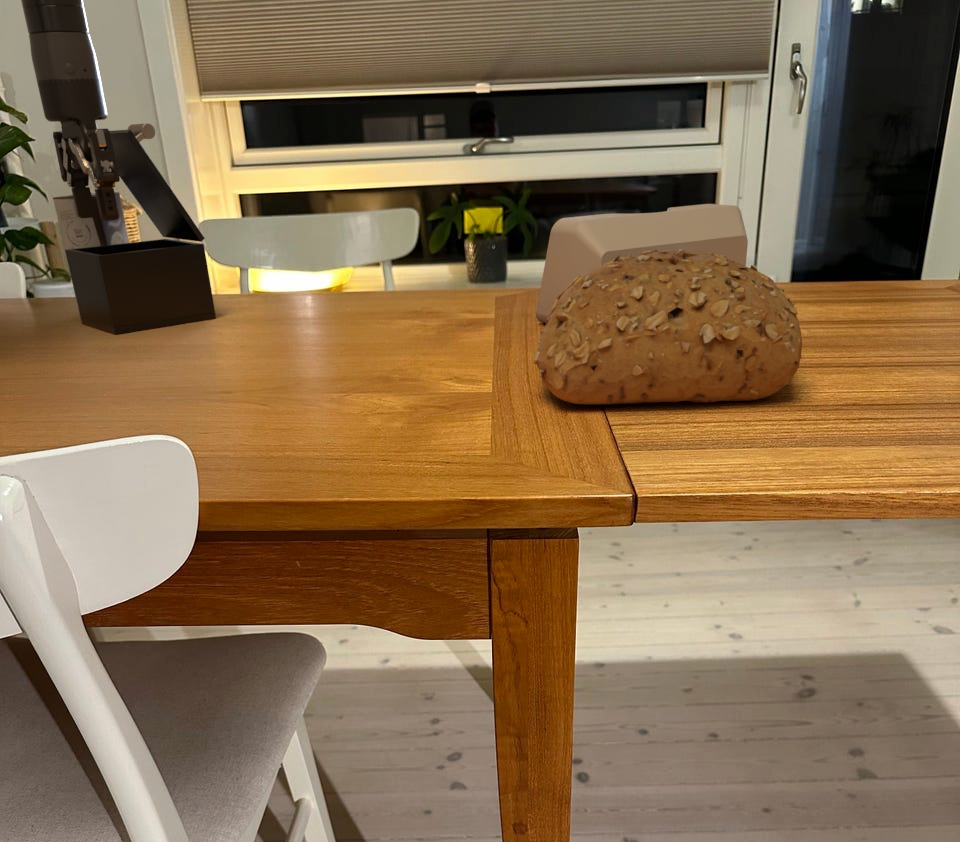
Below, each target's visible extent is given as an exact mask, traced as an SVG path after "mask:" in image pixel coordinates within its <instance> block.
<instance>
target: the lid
mask: <svg viewBox="0 0 960 842" xmlns="http://www.w3.org/2000/svg"><path fill="white" fill-rule="evenodd" d="M109 132H110V136H111V141H112V145H113V150H114V154H115V159H116V163H117V168H118V173H119V177H120V180H122V182H123V184H125V186H126V188H127V189H128V191H129V192H130V193H131V195H132V196H133V198H135V200H136V202H137V203H138V204H139V205H140V207H141V208H142V210H143V211H144V213H145V214H146V215H147V217H148V218H149V219H150V221H151V223H153V225H154V227H155V228H156V229H157V230H158V232H159V233H160V235H161V236H162V237H163V238H167V239H175V240H183V241H190V242H198V243H201V242H203V241H204V240H205V238H206V237H205V236H204V234H203V233H202V232H201V230H200V229H199V228H198V226H197V224H195V222H194V220H193V218H192V217H191V216H190V214H189V212H187V210H186V209H185V207H184V206H183V204H182V202H181V201H180V199H179V198H178V197H177V196H176V194H175V192H174V191H173V189H172V188H171V186H170V184H168V182H167V181H166V179H165V178H164V176H163V175H162V173H161V172H160V171H159V169H158V168H157V166H156V165H155V163H154V162H153V160H152V158H151V157H150V156H149V154H148V153H147V152H146V150H145V149H144V147H143V146H142V144H141V142H142V141H144V140H152V139H154V138H155V136H156V128H155V127H154V126H153V124H151V123H147V122H146V123H135V124H130V125H129V126H128V127H127V129H117V130H109Z"/></svg>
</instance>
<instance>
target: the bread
mask: <svg viewBox="0 0 960 842" xmlns="http://www.w3.org/2000/svg"><path fill="white" fill-rule="evenodd" d="M619 256H620V255H619ZM619 256H618V257H616V258H615V259H613V260H612V261H610V262H609V263H605V264H603V265H600V266H598V267H596V268H594V269H593V270H591V271H589V272H587V273H586V274H585V275H584V276H581V275H578V276H577V277H576V278H575V279H574V280H573V281H572V283H571V284H570V285H569V286H568V287H567V288H566V289H564V290H563V291H562V292H561V293H560V294H559V295H558V296H557V299H558V300H555V302H554V303H553V306H552V309H551V312H550V314H549V316H548V318H547V321H546V323H545V325H544V328H542V329H541V332H540V333H539V334H540V335H539V339H538V341H539V342H537V349H536V352H535V356H534V358H533V362H532V365H536V366H537V369H538V373H539V378H541V381H542V383H543V385H545V387H546V388H547V389H548V391H549V392H551V394H552V395H553V396H555V397H556V398H557V399H560V401H561V400H562V401H564V402H566V403H570V404H574V405H590V406H593V405H596V406H597V405H621V404H643V403H679V402H691V403H714V402H738V401H739V402H746V401H748V402H749V401H750V402H751V401H758V400H761V399H764V398H767V397H769V396H771V395H774V394H776V393H777V392H780V391H781V390H782V389H783V388H784V387H786V386H787V385H788V384H789V383H790V382H791V381H792V379H793V377H794V376H795V375H796V373H797V371H798V369H799V367H800V363H801V360H803V357H802V349H803V339H802V330H801V326H800V321H799V319H798V316H797V315H798V314H799V313H798V310H797V309H798V308H796V307H795V303H793V301H791V297H790V296H788V295H787V293H785V289H783V288H782V287H781V288H780V287H779V286H777V284H776V283H775V281H774V279H772V278H771V277H770V276H768V275H766V274H764V273H762V272H760V271H759V270H758V268H757V266H756V265H752V264H751V265H750V267H748V266H747V265H746V266H744V265H742V264H740V263H736V262H734V260H728V259H727V257H725V256H722V255H718V254H716V253H714V252H713V253H712V254H708V253H705V252H701V251H697V250H690V249H685V250H682V249H673V250H660V251H658V250H650V251H645V252H642V253H641V254H640V255H638V256H634V257H631V256H632V255H629V256H627V257H620V259H619Z"/></svg>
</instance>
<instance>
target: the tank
mask: <svg viewBox="0 0 960 842" xmlns="http://www.w3.org/2000/svg"><path fill="white" fill-rule="evenodd" d="M748 240H749V239H748V235H747V231H746V227H745V222H744V219H743V214H742V211H741V209H740V208H739V207H738V205H733V204H732V205H730V204H719V203H702V204H692V205H683V206H672V207H668V208H667V210H665V211H658V212H644V213H601V214H591V215H580V216H571V217H570V216H569V217H562V218H560V219H558V220H557V221H556V222H554V224H553V226H552V227H551V230H550V234H549V240H548V245H547V250H546V251H547V252H546V255H545V261H544V266H543V272H542V278H541V282H540V288H539V293H538V299H537V305H536V306H537V307H536V310H535V318H536V320H537V321H538V322H540V323H542V324H546V321H547V318H548V316H549V314H550V312H551V309H552V306H553V303H554V302H555V300H558V299H557V296H558V295H559V294H560V293H561V292H562V291H563V290H564V289H566V288H567V287H568V286H569V285H570V284H571V283H572V281H573V280H574V279H575V278H576V277H577V276H578V275H581V276H584V275H585V274H586V273H587V272H589V271H591V270H593V269H594V268H596V267H598V266H600V265H603V264H605V263H609V262H610V261H612V260H613V259H615V258H616V257H618V256H619V255H620V256H619V259H620V257H627V256H629V255H632V256H631V257H634V256H638V255H640V254H641V253H642V252H645V251H650V250H658V251H660V250H673V249H682V250H685V249H690V250H697V251H701V252H705V253H708V254H712V253H713V252H714V253H716V254H718V255H722V256H725V257H727V259H728V260H734V262H736V263H740V264H742V265H744V266H746V267H747V257H748V256H747V255H748V247H749V246H748V244H749V241H748Z"/></svg>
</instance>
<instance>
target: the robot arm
mask: <svg viewBox="0 0 960 842" xmlns="http://www.w3.org/2000/svg"><path fill="white" fill-rule="evenodd" d="M20 2H21V5H22V11H23V15H24V19H25V24H26V29H27V34H28V39H29V44H30V45H29V46H30V54H31V62H32V66H33V70H34V74H35V79H36V84H37V87H38V92H39V97H40V100H41V105H42V111H43V114H44V118H45V119H46V121H48V122H54V123H55V122H59V123H60V125H61V127H60V128H61V130H59V131H52V138H53V143H54V147H55V152H56V156H57V157H56V158H57V161H58V167H59V171H60V177H61V180H62V181H63V183H67V186H68V187H69V188H71V193H72V194H71V195H73V198H74V203H75V207H76V212H77V216H78V217H79V218H92V217H94V216H95V211H94V206H93V201H92V197H91V187H90V185H89V183H90V181H91V183H92V185H93V187H94V193H95V194H96V198H97V203H98V208H99V213H100V217H101V219H102V220H104V221H110V220H117V219H118V218H119V213H118V208H117V203H116V198H115V193H114V192H115V187H116V183H119V182H120V181H121V178H120V176H119V173H118V168H117V163H116V159H115V154H114V150H113V145H112V141H111V136H110V132H109V131H110V130H109V128H99V127H98V125H97V121H103V120H104V121H105V120H106V119H107V118H108V117H109V116H108V114H109V113H108V109H107V104H106V100H105V99H106V98H105V93H104V89H103V88H104V87H103V83H102V79H101V74H100V69H99V68H100V67H99V64H98V63H99V62H98V58H97V53H96V52H95V48H94V45H93V42H92V38H91V34H90V29H89V24H88V19H87V15H86V9H85V5H84V0H20Z"/></svg>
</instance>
